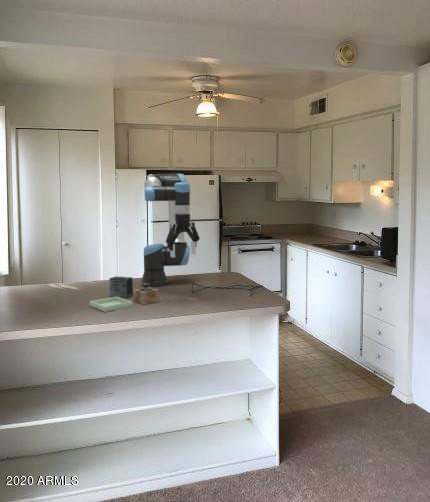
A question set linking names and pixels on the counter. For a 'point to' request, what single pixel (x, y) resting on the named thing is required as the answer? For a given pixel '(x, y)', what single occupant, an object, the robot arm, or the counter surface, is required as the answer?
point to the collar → (146, 296)
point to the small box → (121, 287)
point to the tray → (110, 304)
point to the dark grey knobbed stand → (146, 286)
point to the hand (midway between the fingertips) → (183, 255)
